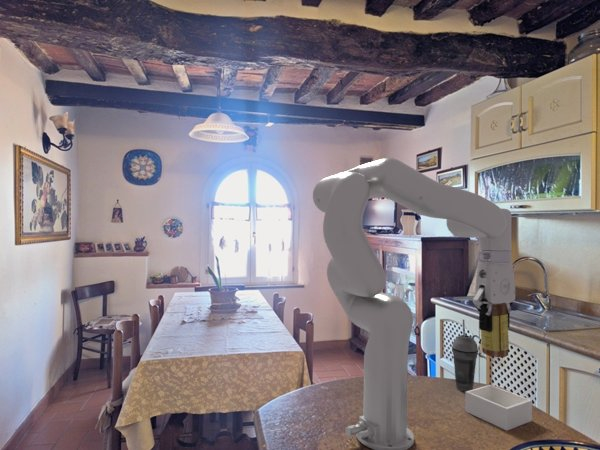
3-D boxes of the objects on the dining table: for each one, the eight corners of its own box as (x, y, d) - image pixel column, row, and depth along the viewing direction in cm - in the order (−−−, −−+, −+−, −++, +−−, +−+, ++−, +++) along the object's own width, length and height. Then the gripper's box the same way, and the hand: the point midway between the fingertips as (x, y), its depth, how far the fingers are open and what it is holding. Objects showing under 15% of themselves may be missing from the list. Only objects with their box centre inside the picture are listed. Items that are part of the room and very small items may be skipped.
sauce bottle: (502, 351, 103) (503, 274, 103) (513, 358, 97) (513, 277, 97) (476, 350, 104) (476, 273, 104) (485, 357, 97) (485, 276, 98)
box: (506, 430, 92) (506, 409, 92) (465, 411, 102) (465, 391, 102) (531, 420, 97) (532, 400, 98) (490, 403, 107) (490, 384, 107)
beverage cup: (457, 393, 113) (458, 323, 113) (447, 383, 120) (448, 317, 121) (482, 393, 113) (483, 323, 114) (470, 383, 121) (471, 317, 121)
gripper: (486, 259, 93) (486, 336, 93) (529, 257, 101) (528, 327, 101) (459, 257, 99) (459, 329, 99) (501, 255, 108) (501, 321, 108)
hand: (494, 328), depth 100 cm, fingers closed on sauce bottle, 6 cm apart
